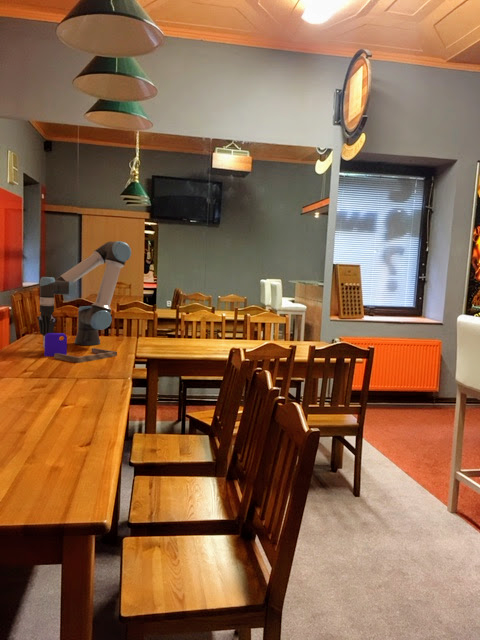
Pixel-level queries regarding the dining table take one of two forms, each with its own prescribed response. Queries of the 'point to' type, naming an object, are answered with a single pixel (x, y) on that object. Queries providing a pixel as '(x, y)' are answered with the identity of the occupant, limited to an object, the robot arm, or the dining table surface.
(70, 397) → the dining table surface
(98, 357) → the handle
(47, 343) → the bracket
